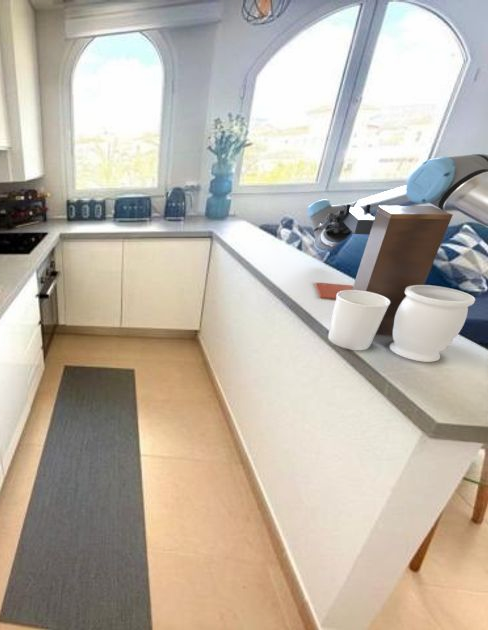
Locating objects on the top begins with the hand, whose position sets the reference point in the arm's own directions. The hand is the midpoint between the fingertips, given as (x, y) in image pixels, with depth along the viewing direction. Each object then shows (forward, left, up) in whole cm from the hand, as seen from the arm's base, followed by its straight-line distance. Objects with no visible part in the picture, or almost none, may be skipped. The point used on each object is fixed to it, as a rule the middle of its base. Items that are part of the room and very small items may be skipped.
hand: (358, 209), depth 103 cm
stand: (-4, +25, -26) cm, 37 cm away
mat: (0, +3, -26) cm, 26 cm away
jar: (-9, +38, -26) cm, 47 cm away
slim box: (0, +3, -5) cm, 5 cm away
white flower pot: (+3, +37, -26) cm, 46 cm away
